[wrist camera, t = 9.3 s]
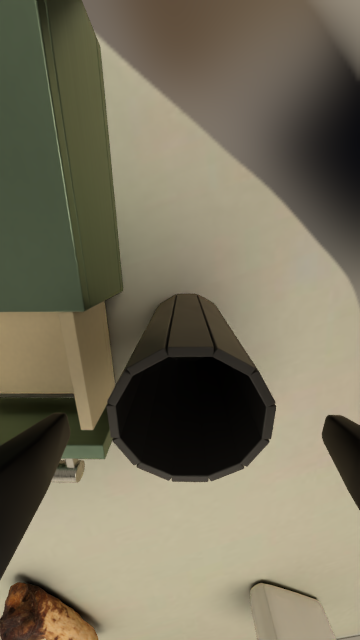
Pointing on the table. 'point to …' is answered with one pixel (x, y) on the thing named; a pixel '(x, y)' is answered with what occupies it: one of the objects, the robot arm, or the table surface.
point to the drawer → (58, 379)
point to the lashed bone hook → (40, 617)
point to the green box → (54, 162)
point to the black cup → (190, 397)
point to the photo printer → (287, 615)
